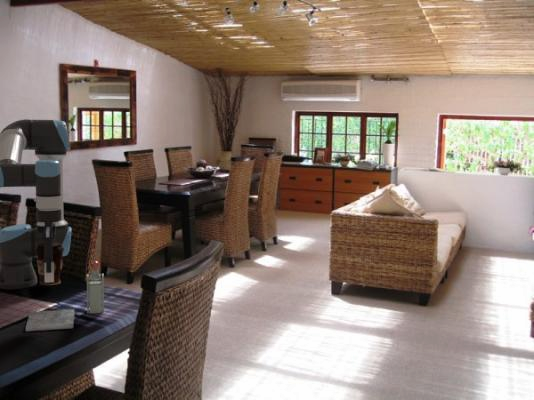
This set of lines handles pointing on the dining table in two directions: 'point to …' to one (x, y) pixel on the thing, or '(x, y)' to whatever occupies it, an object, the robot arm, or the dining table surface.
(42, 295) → the dining table surface
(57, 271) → the coffee cup
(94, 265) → the lever
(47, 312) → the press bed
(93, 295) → the press column
